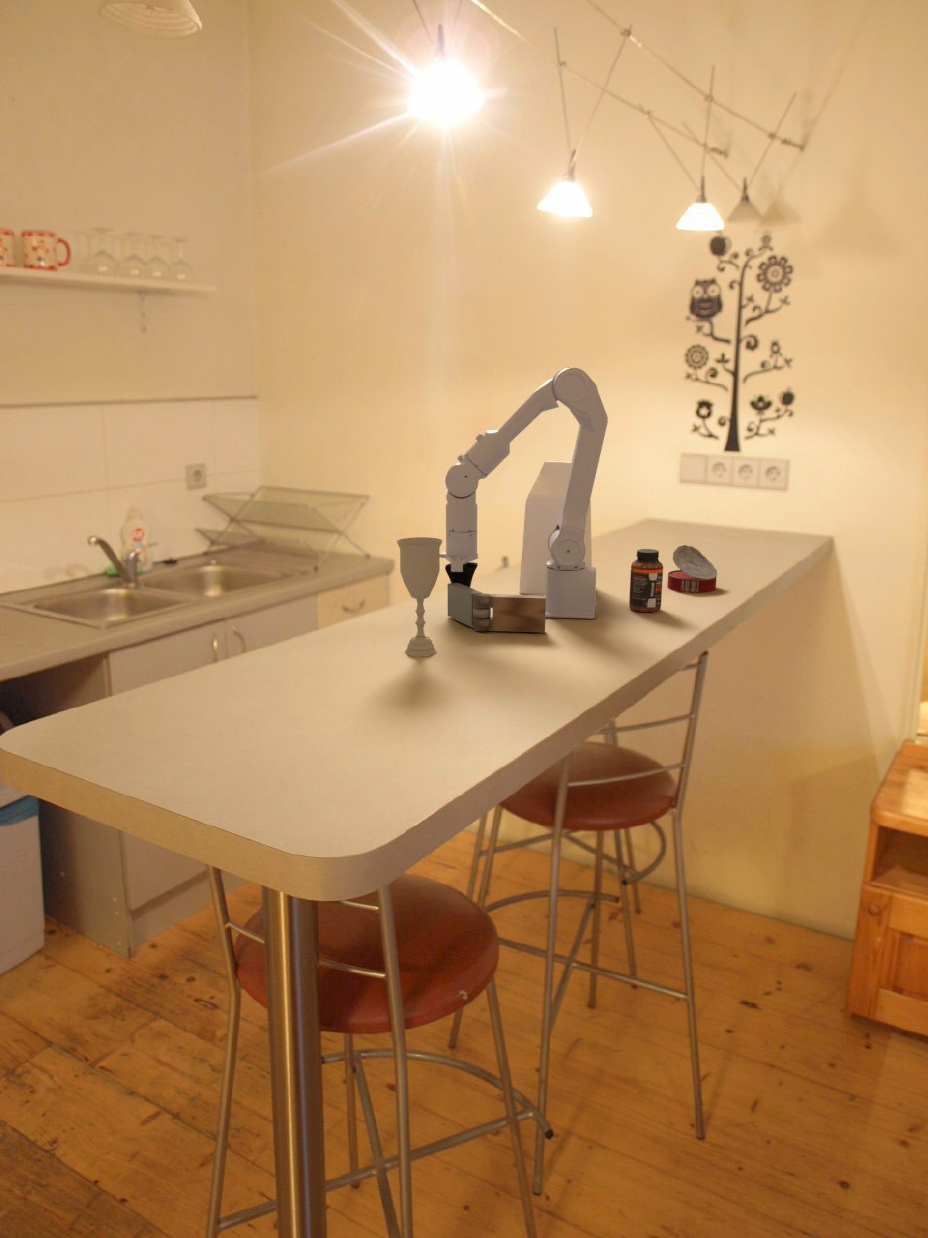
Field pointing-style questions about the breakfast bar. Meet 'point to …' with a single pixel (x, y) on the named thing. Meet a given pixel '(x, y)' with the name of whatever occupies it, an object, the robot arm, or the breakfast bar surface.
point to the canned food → (691, 572)
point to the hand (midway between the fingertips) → (461, 602)
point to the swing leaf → (464, 604)
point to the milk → (545, 525)
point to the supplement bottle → (646, 582)
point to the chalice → (420, 583)
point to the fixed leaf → (511, 612)
